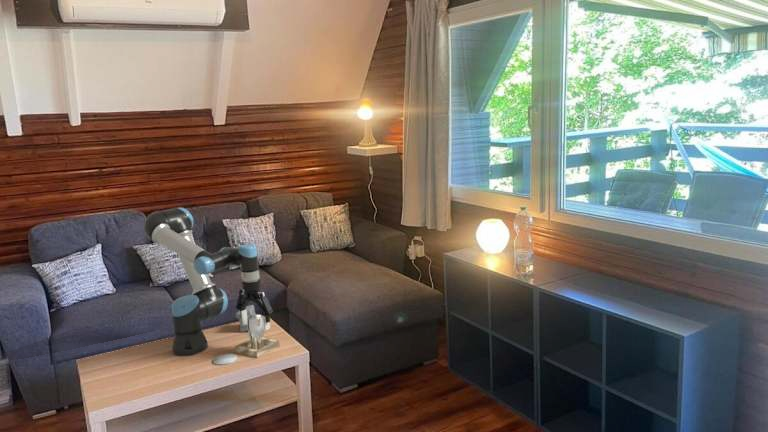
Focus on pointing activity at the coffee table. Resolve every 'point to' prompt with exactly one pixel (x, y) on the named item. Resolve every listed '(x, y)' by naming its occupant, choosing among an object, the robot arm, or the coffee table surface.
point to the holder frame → (257, 353)
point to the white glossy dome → (225, 359)
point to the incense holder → (250, 311)
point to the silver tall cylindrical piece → (255, 331)
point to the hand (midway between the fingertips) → (256, 326)
